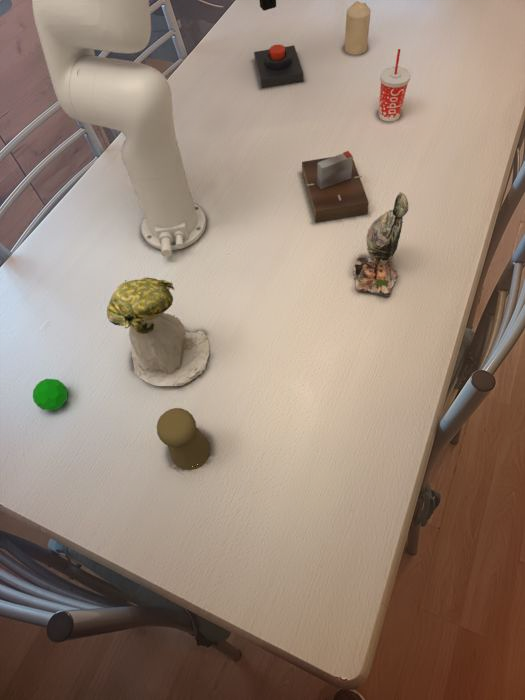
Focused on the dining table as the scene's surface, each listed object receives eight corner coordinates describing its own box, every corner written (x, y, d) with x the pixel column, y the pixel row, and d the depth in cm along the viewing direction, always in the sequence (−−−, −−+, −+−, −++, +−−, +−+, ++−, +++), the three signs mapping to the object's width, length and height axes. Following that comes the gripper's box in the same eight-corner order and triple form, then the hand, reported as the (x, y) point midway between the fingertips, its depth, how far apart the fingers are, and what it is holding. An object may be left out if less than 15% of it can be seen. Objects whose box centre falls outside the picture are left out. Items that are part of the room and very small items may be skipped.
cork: (211, 429, 76) (197, 399, 66) (210, 469, 73) (195, 443, 63) (171, 432, 76) (152, 402, 66) (169, 471, 73) (148, 446, 63)
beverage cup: (373, 122, 108) (381, 57, 96) (376, 105, 111) (385, 40, 99) (402, 124, 107) (413, 59, 95) (404, 107, 110) (416, 41, 98)
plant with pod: (408, 256, 89) (431, 164, 72) (387, 304, 84) (407, 217, 67) (364, 243, 92) (377, 151, 74) (342, 289, 87) (350, 202, 70)
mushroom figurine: (187, 400, 78) (158, 340, 62) (118, 375, 82) (73, 311, 66) (219, 339, 84) (199, 270, 68) (153, 318, 87) (119, 246, 71)
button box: (303, 82, 118) (303, 65, 115) (261, 88, 118) (260, 72, 114) (294, 54, 124) (294, 37, 121) (254, 60, 124) (253, 44, 121)
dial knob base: (368, 214, 95) (370, 201, 92) (313, 223, 95) (313, 210, 92) (351, 165, 102) (353, 152, 100) (300, 174, 102) (300, 161, 99)
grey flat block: (321, 189, 95) (321, 167, 91) (316, 184, 96) (317, 161, 92) (351, 178, 96) (353, 155, 92) (346, 172, 97) (348, 149, 92)
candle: (341, 45, 124) (343, 1, 116) (361, 40, 125) (365, -4, 116) (349, 57, 121) (352, 12, 113) (370, 51, 122) (375, 7, 113)
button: (286, 59, 117) (286, 51, 116) (271, 61, 117) (270, 54, 115) (283, 50, 119) (283, 43, 117) (269, 53, 119) (268, 45, 117)
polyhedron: (36, 401, 80) (21, 388, 76) (61, 381, 82) (48, 367, 78) (52, 421, 78) (38, 409, 74) (78, 400, 80) (65, 387, 76)
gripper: (228, -110, 95) (239, -3, 111) (258, -83, 88) (265, 28, 104) (264, -119, 97) (270, -12, 112) (297, -93, 89) (298, 18, 105)
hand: (268, 7), depth 108 cm, fingers closed
